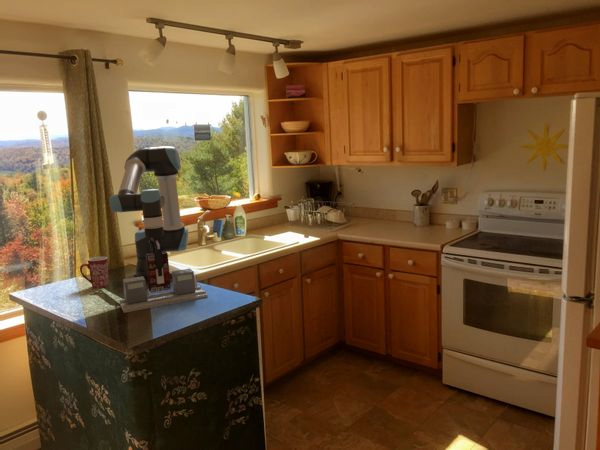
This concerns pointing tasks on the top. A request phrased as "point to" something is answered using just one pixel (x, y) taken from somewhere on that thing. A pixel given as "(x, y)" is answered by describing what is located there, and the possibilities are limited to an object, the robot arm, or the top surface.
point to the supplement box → (152, 273)
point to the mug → (97, 271)
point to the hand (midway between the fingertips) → (159, 281)
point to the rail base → (181, 292)
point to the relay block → (195, 281)
